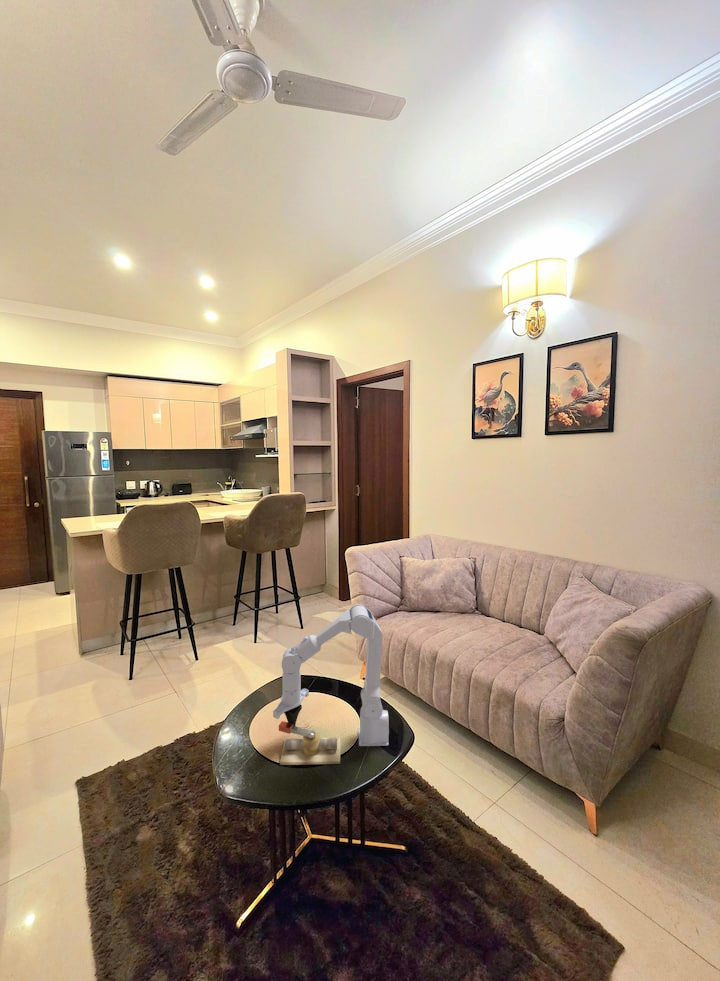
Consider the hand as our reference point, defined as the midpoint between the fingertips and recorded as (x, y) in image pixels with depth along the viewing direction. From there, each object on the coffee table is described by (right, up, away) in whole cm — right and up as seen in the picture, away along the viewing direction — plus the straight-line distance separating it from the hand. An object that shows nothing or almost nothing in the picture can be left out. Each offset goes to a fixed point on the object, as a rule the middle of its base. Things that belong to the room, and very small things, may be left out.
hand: (291, 727), depth 129 cm
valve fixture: (+7, -5, -4) cm, 10 cm away
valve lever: (+2, 0, -3) cm, 4 cm away
